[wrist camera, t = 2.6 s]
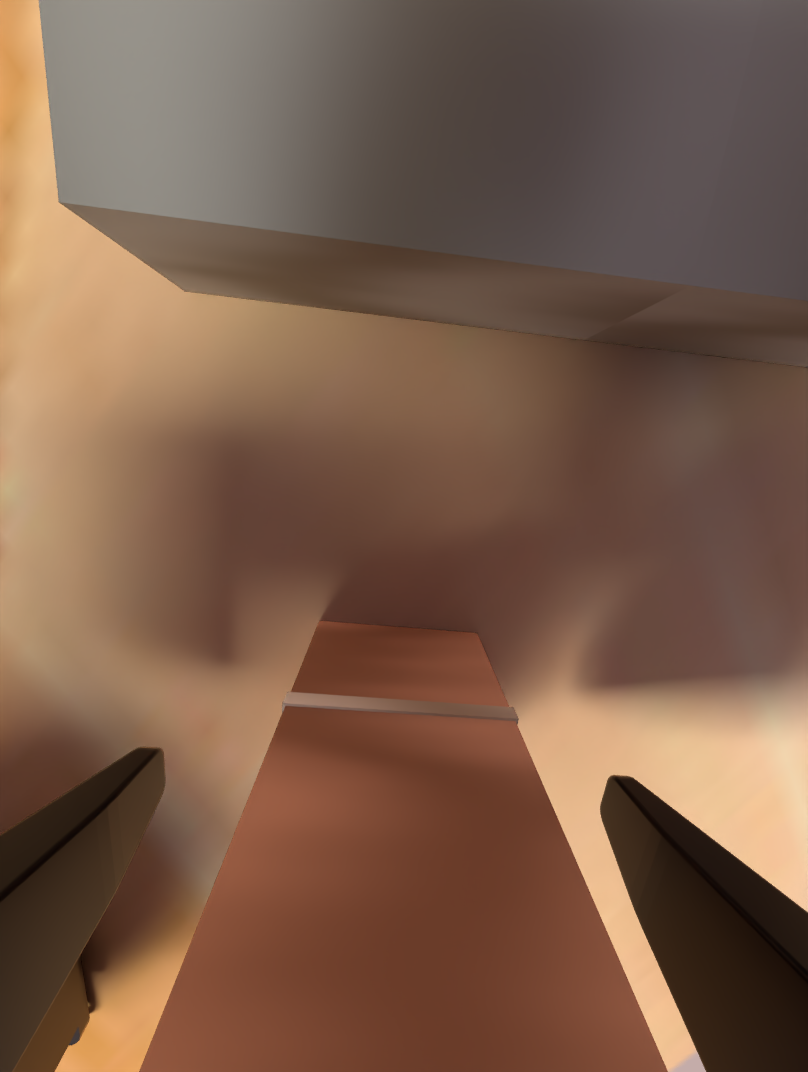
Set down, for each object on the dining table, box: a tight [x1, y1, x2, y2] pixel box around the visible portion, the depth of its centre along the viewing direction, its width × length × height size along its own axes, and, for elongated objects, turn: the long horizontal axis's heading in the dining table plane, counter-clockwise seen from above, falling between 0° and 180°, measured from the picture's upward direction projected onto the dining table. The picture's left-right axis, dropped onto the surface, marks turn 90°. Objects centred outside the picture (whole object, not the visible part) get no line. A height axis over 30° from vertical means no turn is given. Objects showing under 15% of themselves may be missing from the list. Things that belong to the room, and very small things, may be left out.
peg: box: [139, 621, 668, 1072], centre depth 6 cm, size 4×4×9 cm
